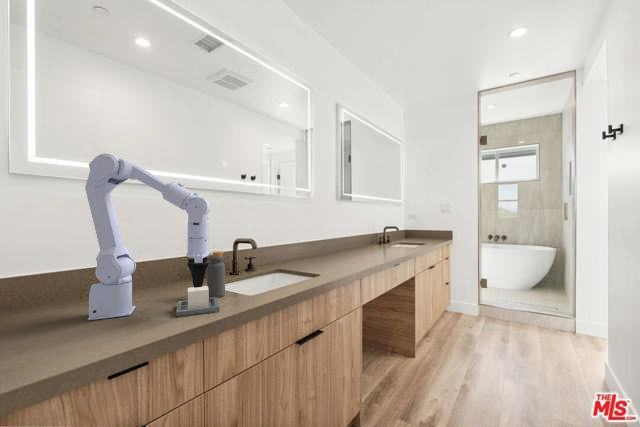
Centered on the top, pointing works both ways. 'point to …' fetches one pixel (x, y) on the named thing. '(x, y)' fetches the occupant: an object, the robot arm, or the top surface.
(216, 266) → the bottle
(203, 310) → the slate tray
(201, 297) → the ceramic cube
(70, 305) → the top surface
